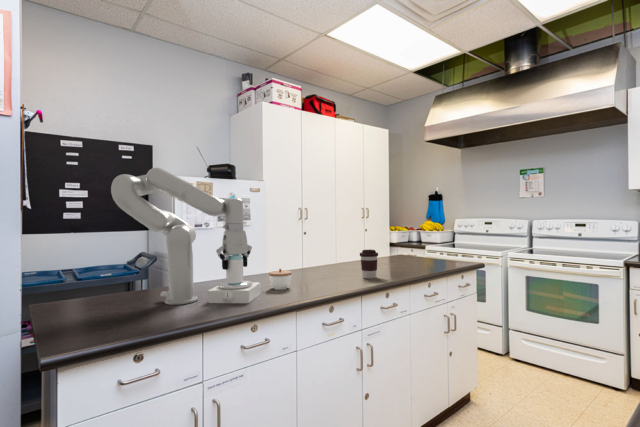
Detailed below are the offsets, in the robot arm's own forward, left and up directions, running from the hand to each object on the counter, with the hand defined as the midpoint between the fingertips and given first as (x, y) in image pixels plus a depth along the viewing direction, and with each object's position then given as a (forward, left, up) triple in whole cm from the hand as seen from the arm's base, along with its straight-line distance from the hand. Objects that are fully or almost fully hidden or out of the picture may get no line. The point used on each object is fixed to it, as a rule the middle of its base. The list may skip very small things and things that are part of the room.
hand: (235, 267), depth 149 cm
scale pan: (0, 0, -8) cm, 8 cm away
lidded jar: (+15, +20, -13) cm, 28 cm away
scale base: (0, 0, -13) cm, 13 cm away
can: (0, 0, -7) cm, 7 cm away
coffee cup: (+58, +48, -13) cm, 76 cm away
